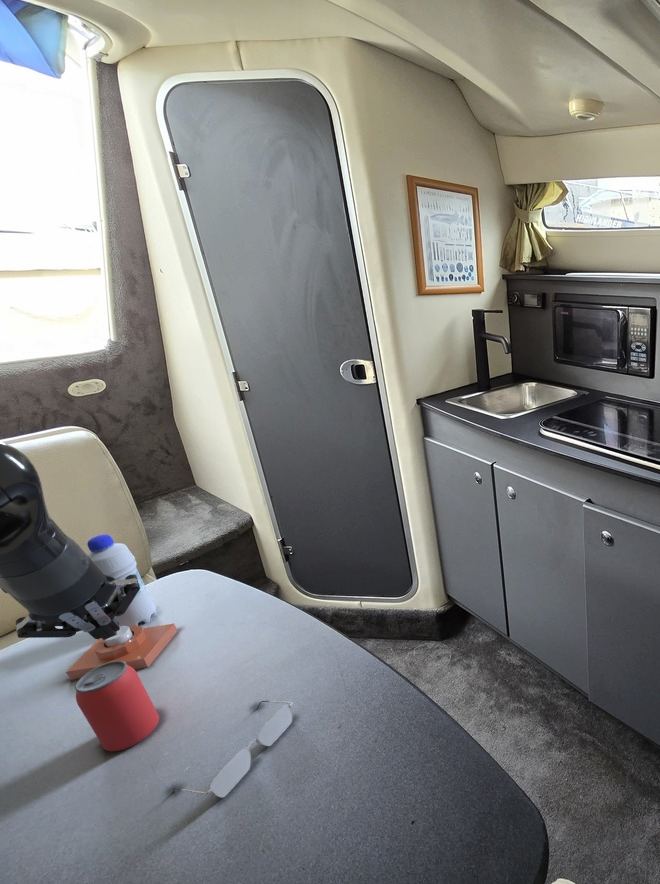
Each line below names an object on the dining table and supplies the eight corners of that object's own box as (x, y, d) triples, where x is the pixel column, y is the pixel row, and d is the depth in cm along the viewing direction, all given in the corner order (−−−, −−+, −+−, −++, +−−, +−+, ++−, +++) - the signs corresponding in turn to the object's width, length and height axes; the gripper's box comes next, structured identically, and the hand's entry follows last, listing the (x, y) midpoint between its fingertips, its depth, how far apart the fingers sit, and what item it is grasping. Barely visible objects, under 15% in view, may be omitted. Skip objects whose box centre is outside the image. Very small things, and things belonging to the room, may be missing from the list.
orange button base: (71, 681, 86) (60, 664, 84) (108, 643, 94) (99, 626, 93) (148, 668, 88) (140, 651, 86) (178, 632, 96) (170, 615, 95)
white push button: (101, 649, 88) (97, 641, 87) (115, 634, 91) (111, 627, 90) (124, 645, 88) (120, 638, 88) (137, 631, 92) (134, 624, 91)
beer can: (104, 733, 76) (70, 675, 72) (159, 706, 80) (130, 650, 76) (104, 763, 72) (68, 703, 67) (162, 733, 76) (131, 674, 71)
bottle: (108, 630, 97) (63, 545, 90) (144, 607, 103) (105, 525, 96) (133, 635, 96) (89, 549, 88) (168, 611, 102) (130, 529, 94)
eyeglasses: (216, 809, 65) (204, 788, 64) (172, 798, 67) (159, 778, 66) (299, 716, 77) (291, 697, 76) (260, 709, 80) (251, 691, 78)
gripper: (110, 527, 68) (159, 590, 79) (-33, 576, 60) (44, 638, 72) (122, 567, 65) (171, 627, 76) (-29, 624, 57) (52, 681, 68)
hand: (109, 632), depth 74 cm, fingers closed
